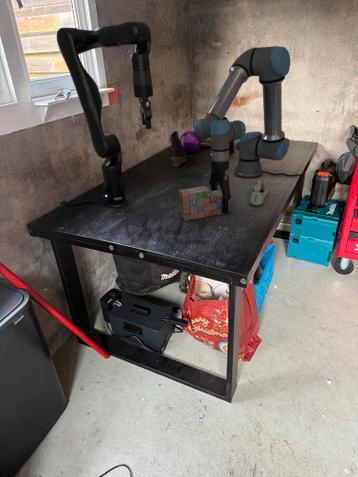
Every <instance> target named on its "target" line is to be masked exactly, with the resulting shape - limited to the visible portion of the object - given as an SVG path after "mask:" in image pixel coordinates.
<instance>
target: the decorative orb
mask: <svg viewBox="0 0 358 477" xmlns="http://www.w3.org/2000/svg"><path fill="white" fill-rule="evenodd" d="M201 140H202V139H201V136H198V135H197V134H196V133H195V131H192V130H187V131H185V132H184V133H182V135H181V136H180V137H179V141H180V144H181V148H182V151H184V152H185V153H186V154H194V153H196V152H197V151H198V150H199V149H201V148H200V145H201Z"/></svg>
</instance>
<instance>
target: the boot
mask: <svg viewBox="0 0 358 477" xmlns="http://www.w3.org/2000/svg"><path fill="white" fill-rule="evenodd" d="M169 141H170V151H169V154H170V156H169V158H170V160H171V164H172V166H173V168H178V167H180V165H182V164H184V163H185V162H187V161H188V156H187V153H186V152H184V151H183V150H182V148H181V144H180V137H179V131H177V130H175V131H173V132H172V133H171V134H170V138H169Z"/></svg>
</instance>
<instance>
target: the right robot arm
mask: <svg viewBox="0 0 358 477" xmlns="http://www.w3.org/2000/svg"><path fill="white" fill-rule="evenodd" d="M290 67H291V55H290V52H289V50H288V49H287V47H285V46H278V45H273V46H272V45H271V46H264V47H263V46H262V47H251V48H248V49H246V50H244V51H243V53H240V55H239V56H238V57H236V59H234V62H232V64H231V66H230V67H229V69H228V76H227V77H226V79H225V81H224V83H223V84H222V87H221V88H220V90H219V92H218V93H217V95H216V97H215V99H214V101H213V102H212V104H211V106H210V107H209V109H208V110H207V113H206V115H205V116H204V118H199V119H197V120H196V121H195V123H194V132H195V133H196V134H197V135H198V136H199V137H200V138H201V137H202V138H206V137H209V138H211V143H210V144H211V147H210V153H209V156H210V159H211V161H210V169H211V172H210V177H209V183H208V184H209V185H210V191H215V190H218V187H219V186H220V190H221V192H222V196H223V198H222V213H225V214H229V213H228V208H229V199H230V200H232V193H231V186H230V178H229V177H230V176H229V174H226V172H227V171H228V170H229V169H230V160H229V159H230V155H229V143H230V142H232V141H234V142H235V141H237V140H239V141H238V142H239V150H238V162H237V165H236V166H234V169H235V170H234V174H235V176H236V177H239V178H243V179H255V178H259V177H261V176H262V175H263V174H268V175H272V176H280V175H281V176H286V177H301V178H305V177H304V175H302V174H300V173H295V174H287V173H285V172H278V173H274V172H270V171H265V170H263V169H262V165H261V159H265V160H272V161H278V162H279V161H282V160H283V159H285V157H286V155H287V153H288V152H289V151H288V150H289V147H290V139H289V138H288V137H286V134H285V131H283V116H282V115H283V112H282V111H283V106H282V105H283V104H282V102H283V95H282V94H283V89H282V88H283V87H282V83H283V82H284V80H286V79H285V78H286V76H287V75H288V74H289V73H290ZM251 77H258V83H259V84H261V86H262V107H263V108H262V109H263V129H264V130H263V134H262V132H261V131H249V132H247V126H246V124H245V123H244V122H243V121H242V120H240V119H237V120H233V121H229V120H228V121H227V120H223V118H224V117H226V115H227V113H228V112H229V109H230V107H231V106H232V105H233V102H234V100H236V97H237V95H238V93H239V91H240V90H241V88H242V86H243V85H244V84H245V83H246V82H248V79H249V78H251Z"/></svg>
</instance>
